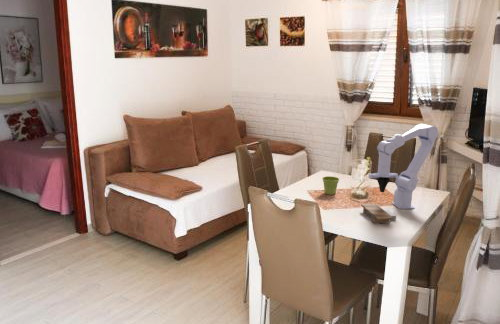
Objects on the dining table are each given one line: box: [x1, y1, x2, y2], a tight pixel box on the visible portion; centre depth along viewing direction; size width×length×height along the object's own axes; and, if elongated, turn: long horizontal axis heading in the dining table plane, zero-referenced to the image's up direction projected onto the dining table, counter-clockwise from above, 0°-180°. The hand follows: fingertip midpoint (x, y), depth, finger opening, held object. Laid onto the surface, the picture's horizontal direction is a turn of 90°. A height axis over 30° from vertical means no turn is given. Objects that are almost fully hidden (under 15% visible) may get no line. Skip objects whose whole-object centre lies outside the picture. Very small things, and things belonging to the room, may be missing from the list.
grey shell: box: [383, 209, 397, 221], centre depth 219 cm, size 8×10×2 cm
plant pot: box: [322, 176, 340, 196], centre depth 254 cm, size 9×9×9 cm
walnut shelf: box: [360, 203, 393, 224], centre depth 218 cm, size 20×8×4 cm, turn 9°
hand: (381, 191), depth 228 cm, fingers closed
